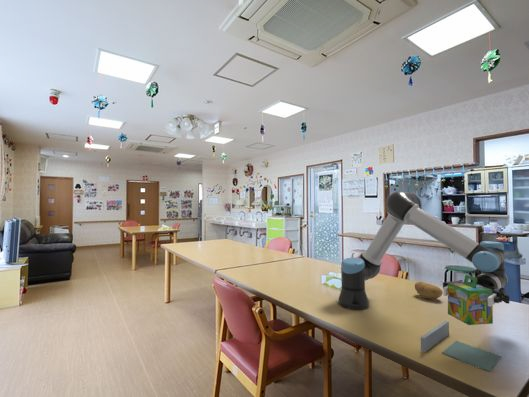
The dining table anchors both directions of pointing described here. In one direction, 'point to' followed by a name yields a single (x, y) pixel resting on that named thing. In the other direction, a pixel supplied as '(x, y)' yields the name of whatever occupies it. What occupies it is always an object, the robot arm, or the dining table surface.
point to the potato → (428, 290)
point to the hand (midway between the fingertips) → (465, 296)
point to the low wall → (434, 336)
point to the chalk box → (470, 302)
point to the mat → (472, 355)
